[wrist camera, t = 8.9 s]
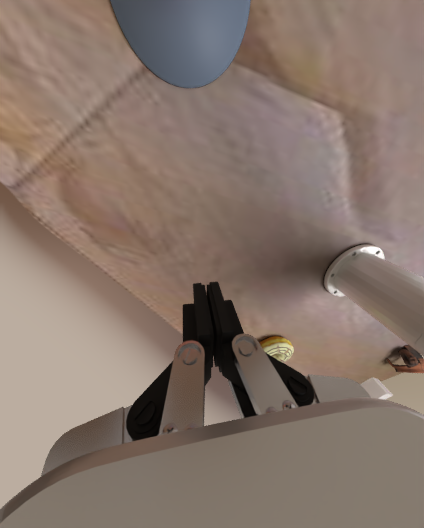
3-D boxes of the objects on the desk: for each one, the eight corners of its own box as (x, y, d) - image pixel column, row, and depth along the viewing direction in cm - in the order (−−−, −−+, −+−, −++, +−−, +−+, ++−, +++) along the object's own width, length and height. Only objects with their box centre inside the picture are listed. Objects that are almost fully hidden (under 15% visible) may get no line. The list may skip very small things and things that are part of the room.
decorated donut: (243, 350, 46) (248, 364, 43) (272, 328, 43) (280, 341, 39) (266, 361, 50) (271, 374, 47) (294, 341, 47) (302, 353, 44)
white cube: (366, 386, 74) (379, 402, 69) (359, 384, 72) (373, 401, 67) (378, 378, 72) (393, 395, 67) (371, 376, 70) (386, 393, 64)
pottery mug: (414, 347, 63) (428, 373, 58) (380, 347, 68) (391, 372, 63) (420, 343, 55) (437, 373, 50) (382, 344, 60) (394, 372, 56)
